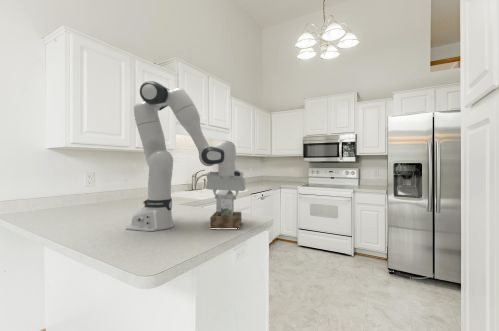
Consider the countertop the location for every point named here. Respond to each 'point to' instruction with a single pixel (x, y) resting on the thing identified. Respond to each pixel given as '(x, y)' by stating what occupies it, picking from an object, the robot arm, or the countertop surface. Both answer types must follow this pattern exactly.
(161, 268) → the countertop surface
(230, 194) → the milk carton
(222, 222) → the walnut caddy
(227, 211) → the syrup box
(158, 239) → the countertop surface
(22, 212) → the countertop surface
